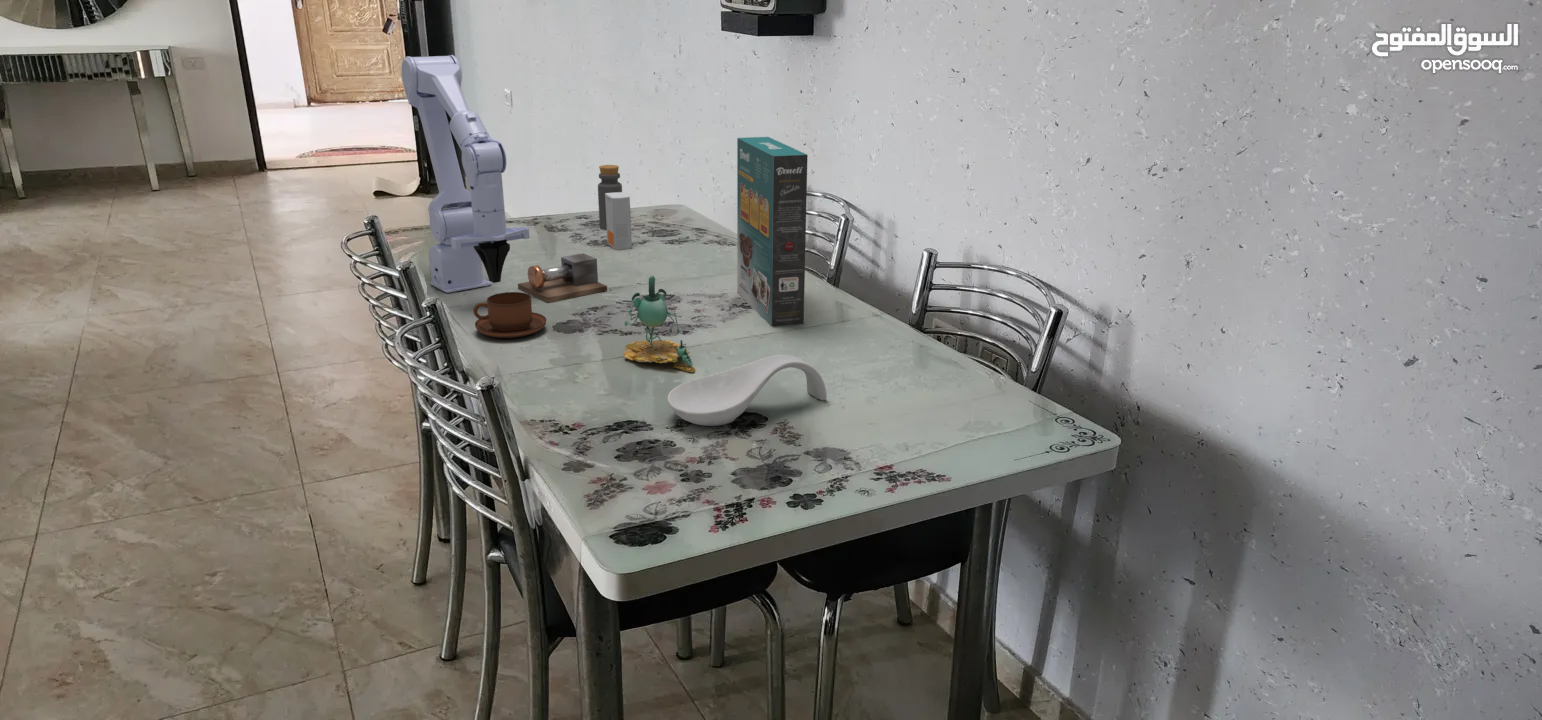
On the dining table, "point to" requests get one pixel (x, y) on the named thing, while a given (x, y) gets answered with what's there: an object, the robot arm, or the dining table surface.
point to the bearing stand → (570, 281)
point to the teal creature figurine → (658, 351)
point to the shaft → (547, 274)
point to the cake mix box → (771, 229)
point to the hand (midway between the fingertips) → (494, 281)
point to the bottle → (607, 189)
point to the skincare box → (618, 220)
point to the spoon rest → (735, 390)
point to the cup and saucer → (508, 316)
